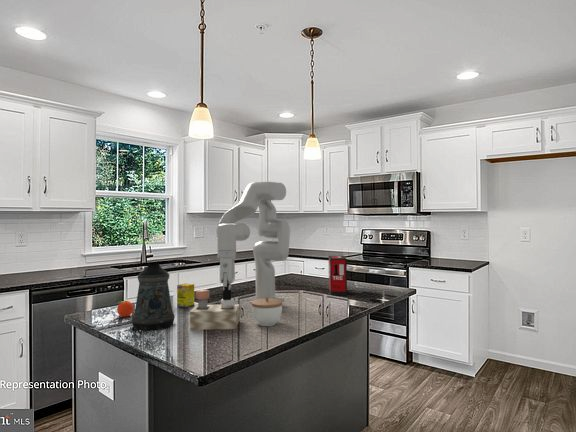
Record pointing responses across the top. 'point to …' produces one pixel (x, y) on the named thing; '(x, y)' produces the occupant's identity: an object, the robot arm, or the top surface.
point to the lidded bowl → (267, 311)
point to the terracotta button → (202, 299)
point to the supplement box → (185, 295)
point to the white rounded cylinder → (227, 304)
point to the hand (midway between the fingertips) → (227, 299)
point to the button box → (214, 318)
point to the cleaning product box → (337, 275)
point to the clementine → (125, 308)
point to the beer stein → (153, 300)
